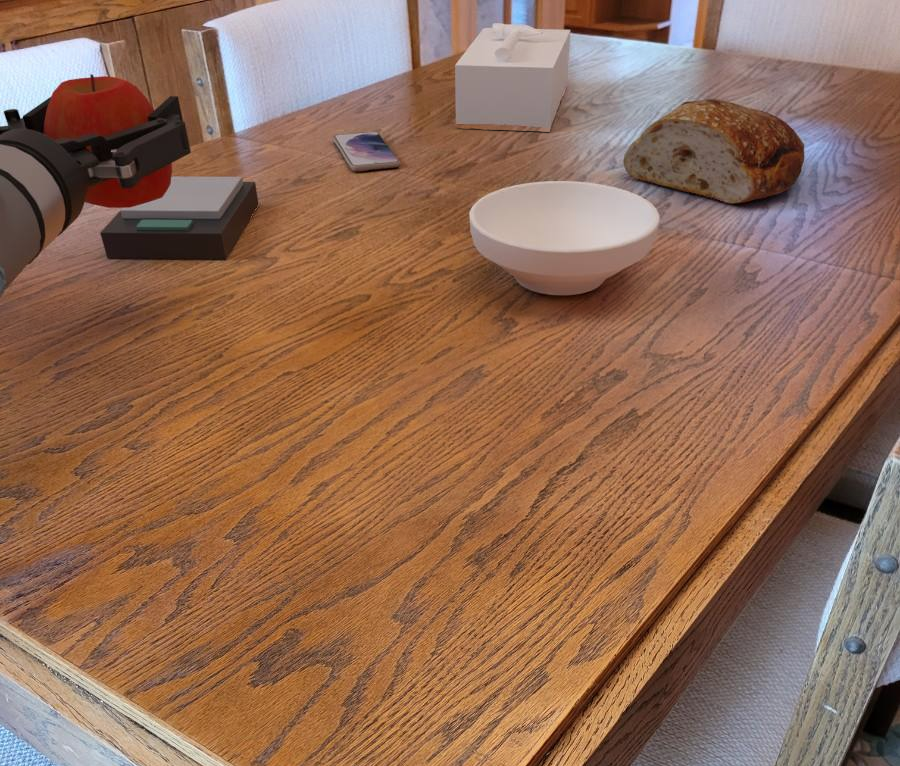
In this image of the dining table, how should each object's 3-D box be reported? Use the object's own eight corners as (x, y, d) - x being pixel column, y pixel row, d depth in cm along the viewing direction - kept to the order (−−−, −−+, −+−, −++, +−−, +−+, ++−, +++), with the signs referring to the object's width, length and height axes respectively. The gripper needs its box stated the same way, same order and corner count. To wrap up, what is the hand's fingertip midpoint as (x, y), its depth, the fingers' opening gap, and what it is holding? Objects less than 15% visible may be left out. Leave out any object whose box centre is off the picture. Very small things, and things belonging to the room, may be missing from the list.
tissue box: (566, 88, 154) (571, 13, 146) (549, 132, 136) (553, 49, 128) (483, 85, 156) (484, 11, 149) (455, 128, 138) (454, 47, 131)
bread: (616, 178, 121) (625, 95, 114) (700, 147, 129) (712, 68, 123) (745, 218, 109) (763, 129, 103) (827, 182, 118) (849, 97, 111)
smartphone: (378, 130, 135) (401, 161, 125) (378, 137, 136) (401, 168, 125) (331, 134, 134) (351, 166, 123) (332, 140, 134) (351, 172, 124)
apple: (42, 217, 83) (1, 88, 76) (95, 177, 91) (62, 57, 83) (152, 222, 82) (121, 91, 74) (196, 181, 89) (172, 59, 82)
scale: (107, 258, 104) (97, 223, 101) (152, 205, 116) (145, 172, 114) (225, 259, 103) (219, 224, 101) (259, 206, 116) (253, 173, 113)
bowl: (432, 277, 99) (430, 210, 94) (559, 231, 108) (563, 168, 103) (559, 340, 88) (564, 268, 83) (688, 283, 97) (700, 215, 92)
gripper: (-105, 242, 72) (13, 153, 88) (177, 246, 70) (245, 155, 86) (-149, 141, 67) (-15, 66, 83) (154, 143, 65) (231, 66, 81)
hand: (118, 112), depth 85 cm, fingers closed on apple, 11 cm apart
